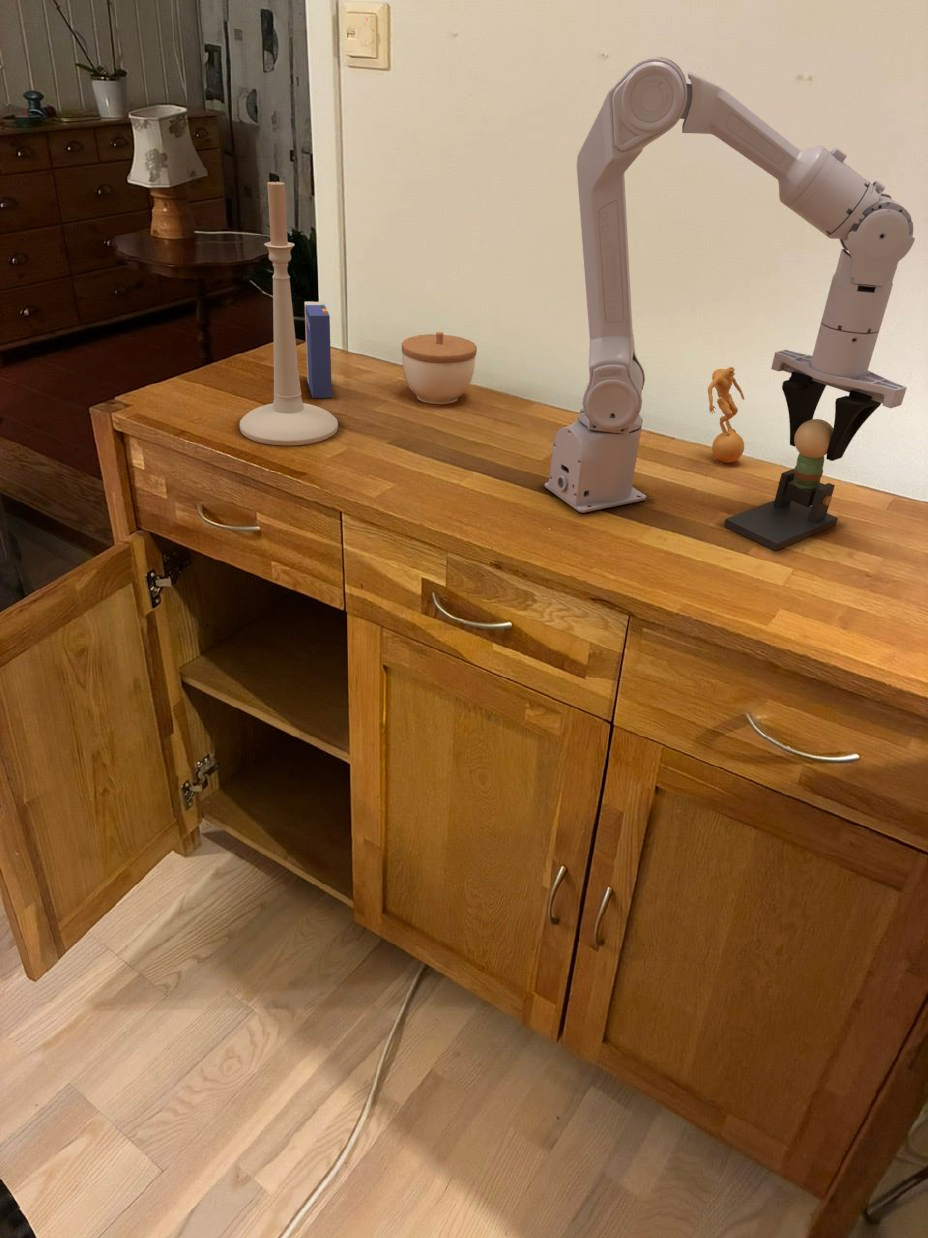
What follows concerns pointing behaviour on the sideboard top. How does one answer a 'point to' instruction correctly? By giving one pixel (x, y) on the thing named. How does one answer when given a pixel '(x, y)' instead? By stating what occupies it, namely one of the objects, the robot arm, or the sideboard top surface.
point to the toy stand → (785, 517)
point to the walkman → (318, 349)
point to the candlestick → (285, 354)
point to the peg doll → (809, 460)
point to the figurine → (728, 442)
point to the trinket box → (438, 366)
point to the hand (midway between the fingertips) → (815, 451)
